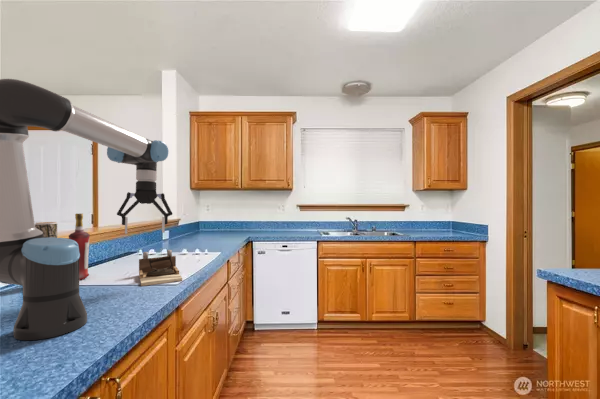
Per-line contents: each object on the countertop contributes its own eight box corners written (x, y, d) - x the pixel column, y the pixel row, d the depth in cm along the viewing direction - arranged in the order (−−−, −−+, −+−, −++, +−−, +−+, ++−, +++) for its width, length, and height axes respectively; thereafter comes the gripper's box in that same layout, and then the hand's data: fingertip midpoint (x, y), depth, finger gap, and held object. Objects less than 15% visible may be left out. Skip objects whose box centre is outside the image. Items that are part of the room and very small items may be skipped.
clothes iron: (177, 274, 135) (172, 253, 133) (149, 285, 128) (144, 263, 126) (172, 270, 140) (167, 250, 138) (145, 280, 133) (140, 259, 131)
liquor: (67, 278, 132) (67, 213, 132) (88, 275, 137) (88, 213, 137) (69, 282, 126) (69, 214, 126) (91, 278, 131) (90, 213, 131)
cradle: (182, 280, 128) (182, 256, 128) (141, 286, 120) (141, 260, 120) (175, 270, 145) (175, 249, 145) (139, 275, 138) (138, 252, 138)
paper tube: (59, 285, 121) (58, 222, 121) (36, 289, 116) (36, 223, 116) (55, 282, 126) (55, 221, 126) (34, 285, 121) (33, 222, 121)
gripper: (177, 183, 136) (176, 231, 135) (111, 180, 123) (109, 233, 122) (179, 182, 129) (178, 232, 128) (110, 178, 117) (108, 234, 116)
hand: (145, 233), depth 125 cm, fingers open, 13 cm apart
